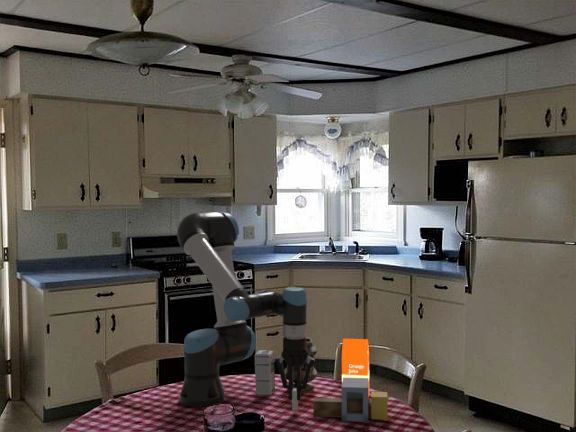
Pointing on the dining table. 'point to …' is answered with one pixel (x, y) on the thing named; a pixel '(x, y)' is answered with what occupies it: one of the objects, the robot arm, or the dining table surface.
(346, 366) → the orange juice
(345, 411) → the grey framed box
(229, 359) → the robot arm
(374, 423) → the dining table surface
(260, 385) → the syrup box
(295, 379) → the brown ornate vase
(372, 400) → the block
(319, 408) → the wooden bar
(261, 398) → the dining table surface
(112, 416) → the dining table surface
